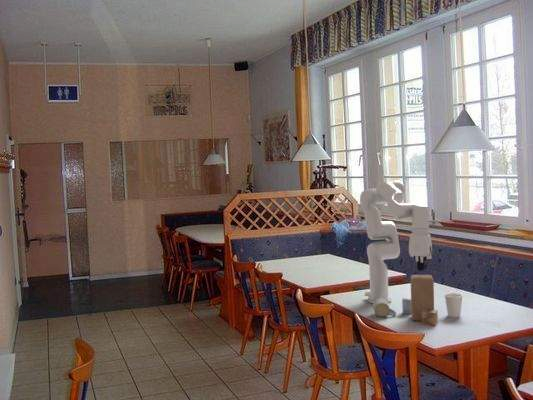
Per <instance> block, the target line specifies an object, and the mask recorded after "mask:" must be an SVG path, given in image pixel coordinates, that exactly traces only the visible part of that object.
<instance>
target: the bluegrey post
mask: <svg viewBox="0 0 533 400" xmlns="http://www.w3.org/2000/svg"><path fill="white" fill-rule="evenodd" d="M401 300H402V301H401V303H402V304H401V305H402V306H401V307H402V314H403V315H409V316H410V315H412V314H411V297H404V298H402V299H401Z"/></svg>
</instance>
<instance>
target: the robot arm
mask: <svg viewBox="0 0 533 400" xmlns="http://www.w3.org/2000/svg"><path fill="white" fill-rule="evenodd" d="M405 191H406V189H405V185H404V183H403V182H402V181H400V180H394V179H393V180H383V181H380V182H378V183H377V185H376V186H375V188H373V187H372V188H367V189H365V190H363V191H361V194H359V195H360V197H359V204H360V207H361V210H362V211H363V215H364V221H365V222H364V223H365V228H366V233H367V237H368V239H370V240H373V241H375V240H386V241H375V242H371V243H369V244H368V245H367V246H366V247H367V248H366V254H367V258H368V267H369V268H368V269H369V271H368V272H369V291H365V293H364V296H365V297H368V298H367V299H366V300H367V303H370V304H373V302H374V301H375V300H376V299H379V298H382V299H385V300H386V301H387V302H388V304H390V303H392V301H393V300H392V298H391V297H389V274H388V273H389V270H388V266H387V264H386V263H385V262H384V261H385V260H393V259H397V258H399V256H400V254H401V253H400V252H401V248H400V242H399V234H398V230H397V226H396V224H395V223H394V222H393V221H391V220H382V215H381V212H380V210H379V209H378V207H377V206H375V205H385V204H386V206H387V211H388V213H389V214H390V215H391V216H392V217H393V218H395V219H396V220H399V221H400V220H401V221H403V220H411V223H412V224H411V226H412V227H411V228H409V231H410V232H411V234H410V235H409V241H408V254H409V257H410V258H411V257H412V259H414V260H415V262H416V268H417V272H418V271H420V272H422V271H424V270H425V268H426V267H425V262H426V261H427V260H429V259H432V258H433V257H432V255H433V244H432V243H433V242H432V237H431V234H430V222H429V221H430V220H429V219H430V214H429V212H430V211H429V208H430V207H429V206H428V205H427V204H421V203H419V202H412V203H411V202H408V203H403V201H404V199H405V198H404V197H405V195H404V194H405Z"/></svg>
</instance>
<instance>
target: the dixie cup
mask: <svg viewBox="0 0 533 400" xmlns="http://www.w3.org/2000/svg"><path fill="white" fill-rule="evenodd" d="M444 300H445V306H446V312H447V313H446V314H447V317H449V318H460V317H461V311H462V303H463V294H462V293H457V292H452V293H451V292H450V293H448V292H447V293H445V294H444Z"/></svg>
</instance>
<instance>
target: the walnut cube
mask: <svg viewBox="0 0 533 400" xmlns="http://www.w3.org/2000/svg"><path fill="white" fill-rule="evenodd" d="M438 316H439V315H438V309H434V310H431V309H424V310H423V311H422V321H421V325H422V326H427V325H430V326H431V327H436V326H437V325H438V323H439V322H438V320H439V319H438ZM436 324H437V325H436ZM430 326H429V327H430Z"/></svg>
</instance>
